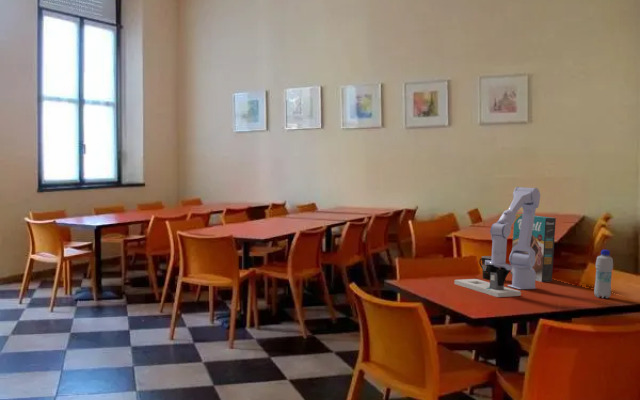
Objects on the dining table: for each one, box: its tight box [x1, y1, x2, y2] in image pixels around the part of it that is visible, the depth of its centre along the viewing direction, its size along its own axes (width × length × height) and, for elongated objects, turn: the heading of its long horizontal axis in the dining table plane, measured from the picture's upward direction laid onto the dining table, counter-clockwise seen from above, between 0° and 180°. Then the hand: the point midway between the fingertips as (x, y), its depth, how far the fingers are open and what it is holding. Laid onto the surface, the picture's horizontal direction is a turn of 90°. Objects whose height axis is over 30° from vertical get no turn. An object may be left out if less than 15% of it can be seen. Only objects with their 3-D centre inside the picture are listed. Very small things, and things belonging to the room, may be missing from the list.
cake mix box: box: [510, 213, 557, 283], centre depth 298 cm, size 22×6×30 cm, turn 22°
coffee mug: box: [478, 255, 492, 281], centre depth 292 cm, size 12×9×10 cm
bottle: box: [593, 249, 614, 299], centre depth 256 cm, size 7×7×20 cm
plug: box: [489, 272, 505, 290], centre depth 256 cm, size 4×4×8 cm
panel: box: [454, 278, 522, 298], centre depth 262 cm, size 12×28×2 cm, turn 25°
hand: (497, 284), depth 256 cm, fingers closed on plug, 4 cm apart
